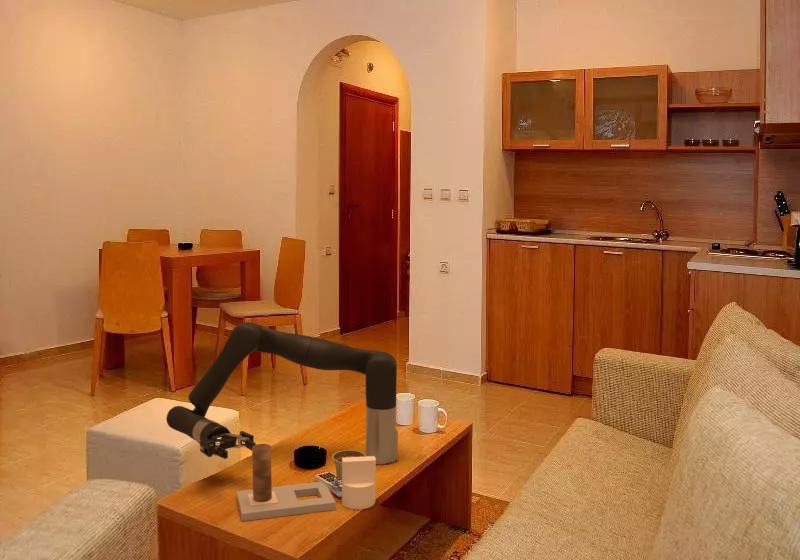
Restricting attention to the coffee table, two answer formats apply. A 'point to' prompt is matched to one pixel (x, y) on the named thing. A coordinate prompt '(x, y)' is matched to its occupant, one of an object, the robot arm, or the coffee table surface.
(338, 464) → the flower pot
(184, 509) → the coffee table surface
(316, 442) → the coffee table surface
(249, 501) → the board
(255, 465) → the walnut cylinder
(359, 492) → the base with upright slab
